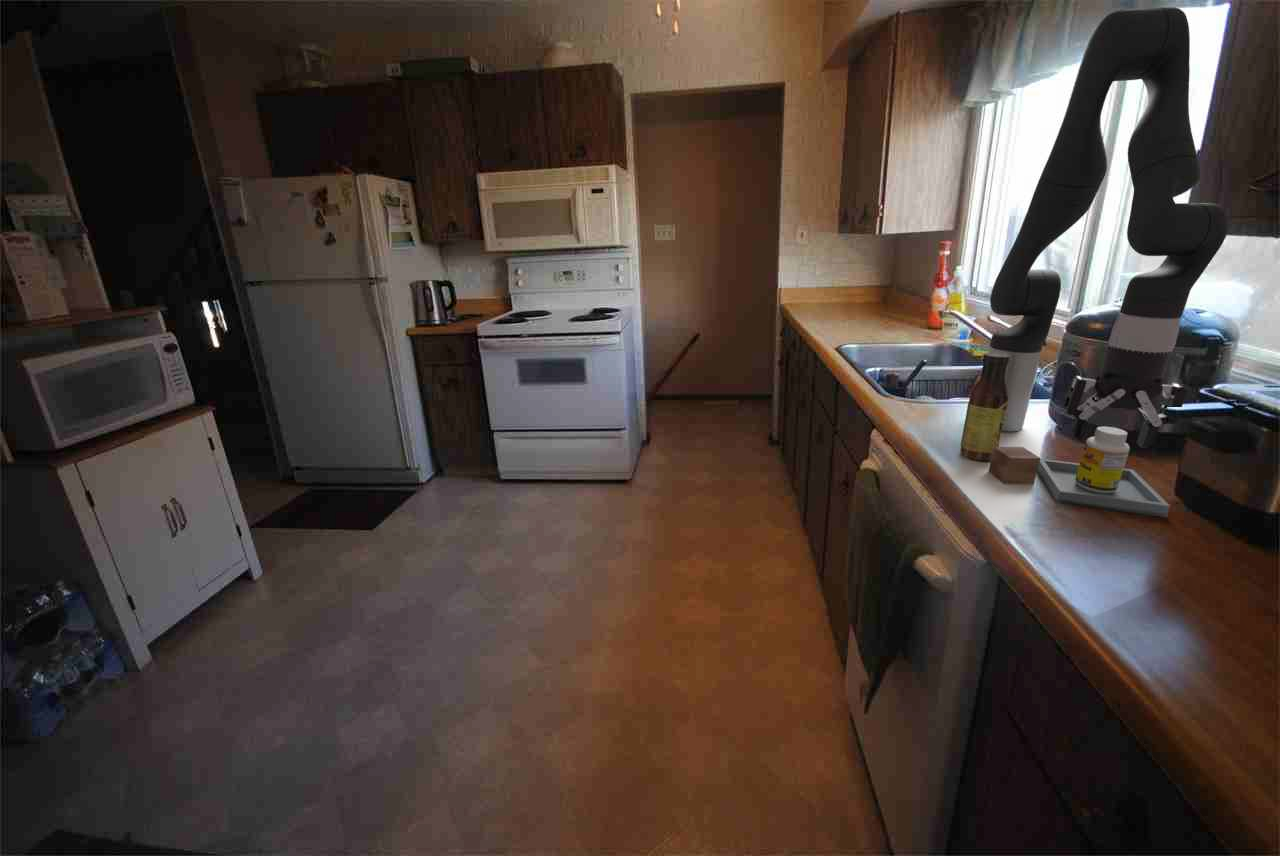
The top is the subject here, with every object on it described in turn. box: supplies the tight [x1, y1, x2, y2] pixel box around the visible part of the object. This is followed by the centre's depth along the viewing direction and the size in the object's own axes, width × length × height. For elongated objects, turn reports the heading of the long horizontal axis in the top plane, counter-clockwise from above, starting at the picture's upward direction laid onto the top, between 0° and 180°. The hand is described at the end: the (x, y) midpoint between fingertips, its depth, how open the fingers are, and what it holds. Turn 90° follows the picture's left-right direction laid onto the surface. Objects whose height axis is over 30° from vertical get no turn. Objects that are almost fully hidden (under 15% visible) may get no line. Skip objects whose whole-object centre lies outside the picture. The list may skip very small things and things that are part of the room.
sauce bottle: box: [960, 352, 1009, 462], centre depth 104 cm, size 6×6×20 cm
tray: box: [1037, 458, 1171, 519], centre depth 93 cm, size 14×14×2 cm
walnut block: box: [987, 446, 1042, 485], centre depth 98 cm, size 5×5×5 cm
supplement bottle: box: [1075, 425, 1131, 494], centre depth 92 cm, size 6×6×10 cm
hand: (1108, 442), depth 91 cm, fingers open, 8 cm apart
